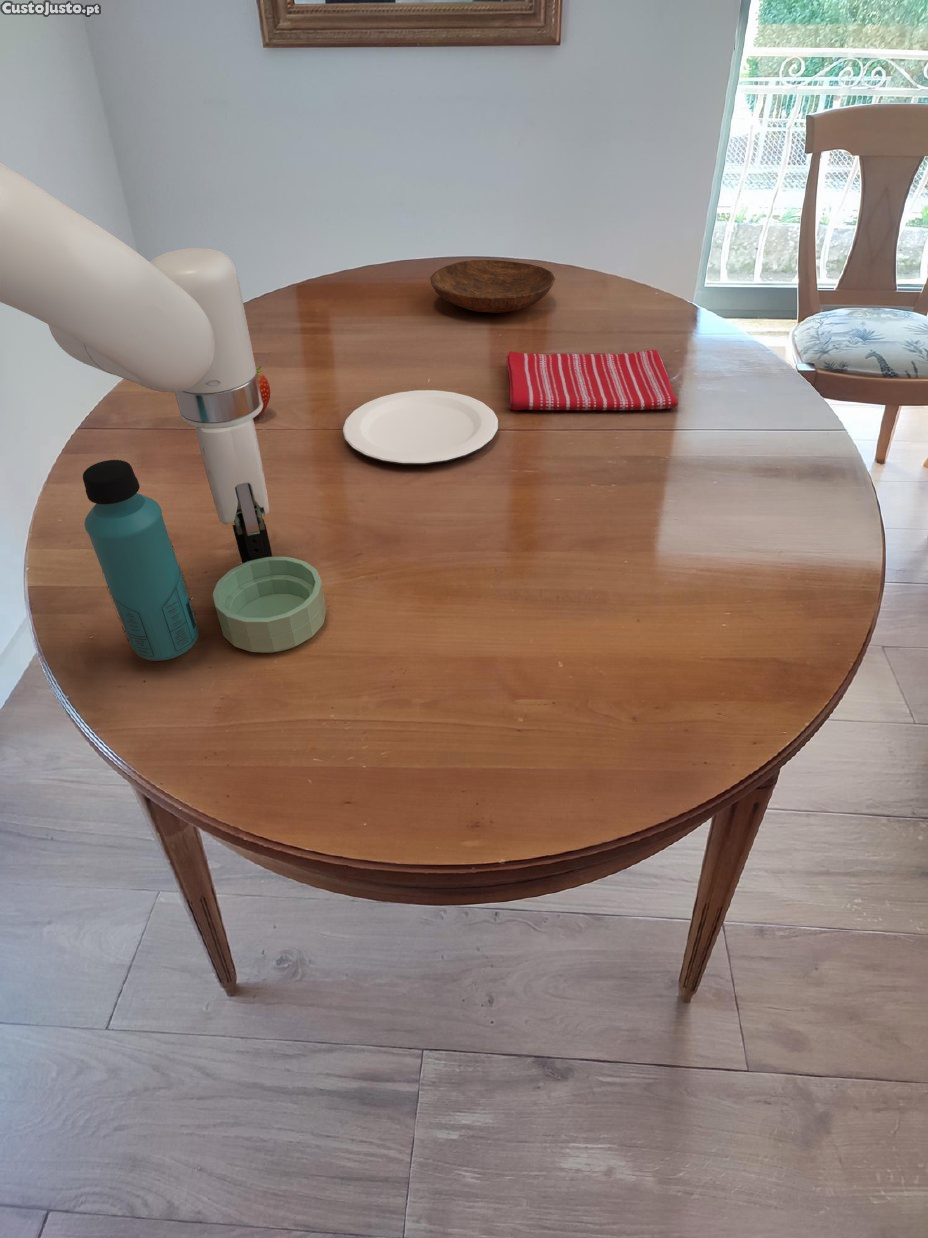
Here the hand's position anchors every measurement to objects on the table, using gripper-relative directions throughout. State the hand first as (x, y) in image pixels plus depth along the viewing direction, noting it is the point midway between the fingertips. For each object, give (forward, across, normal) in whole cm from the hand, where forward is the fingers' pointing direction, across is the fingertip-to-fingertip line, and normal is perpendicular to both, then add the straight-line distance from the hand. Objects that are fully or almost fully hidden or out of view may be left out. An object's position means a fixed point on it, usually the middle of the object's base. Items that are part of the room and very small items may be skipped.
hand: (256, 556), depth 89 cm
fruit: (+2, -37, +6) cm, 37 cm away
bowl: (+3, -64, +53) cm, 83 cm away
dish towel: (+2, -27, +53) cm, 59 cm away
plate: (+2, -23, +26) cm, 35 cm away
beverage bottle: (+2, +10, -10) cm, 14 cm away
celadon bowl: (+2, +9, 0) cm, 9 cm away
